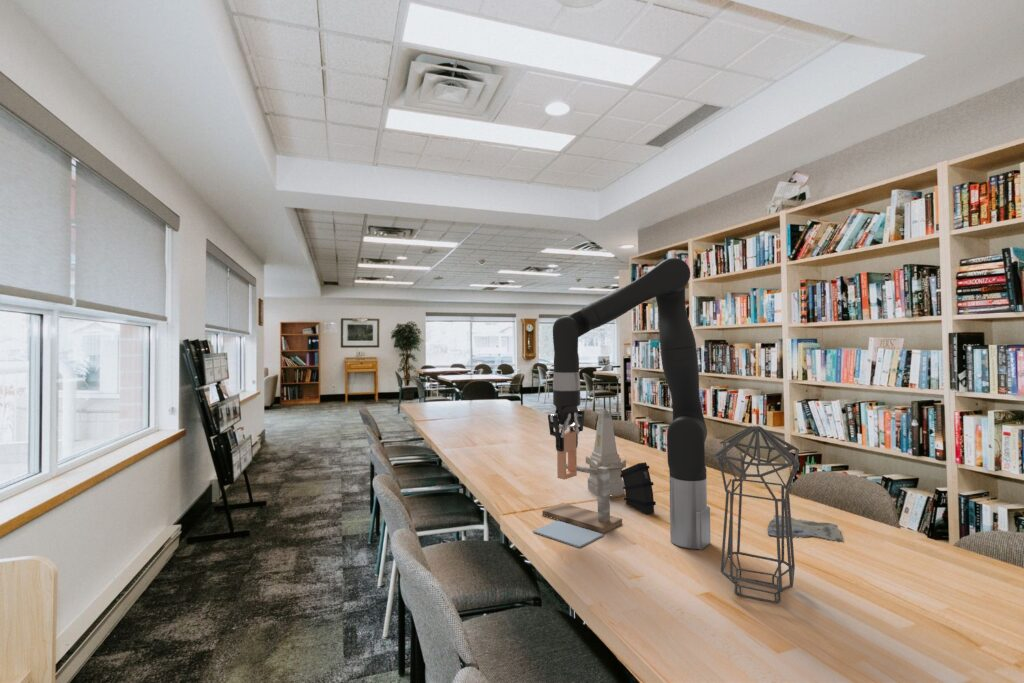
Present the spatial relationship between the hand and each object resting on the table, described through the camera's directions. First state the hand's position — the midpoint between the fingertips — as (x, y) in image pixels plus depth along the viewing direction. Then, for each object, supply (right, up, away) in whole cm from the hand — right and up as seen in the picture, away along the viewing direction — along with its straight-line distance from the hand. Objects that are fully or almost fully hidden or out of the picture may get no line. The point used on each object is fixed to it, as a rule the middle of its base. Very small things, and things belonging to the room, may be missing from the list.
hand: (567, 449), depth 135 cm
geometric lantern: (+36, -23, -33) cm, 54 cm away
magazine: (+25, -24, +21) cm, 41 cm away
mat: (0, -24, 0) cm, 24 cm away
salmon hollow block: (0, -8, 0) cm, 8 cm away
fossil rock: (+66, -24, 0) cm, 70 cm away
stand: (+6, -24, +11) cm, 27 cm away
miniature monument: (+18, -24, +39) cm, 49 cm away
